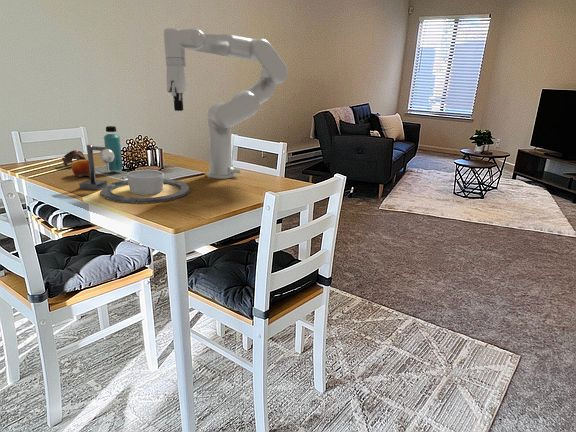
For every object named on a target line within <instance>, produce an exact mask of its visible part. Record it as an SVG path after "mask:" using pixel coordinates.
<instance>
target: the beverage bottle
mask: <svg viewBox="0 0 576 432" xmlns="http://www.w3.org/2000/svg"><path fill="white" fill-rule="evenodd" d="M105 132H107V133H106V134H105V135H104V137H103V139H104V147H107V149H110V150H112V151H113V153H114V155H115V158H114V160H113V161H112V162H109V172H110V171H111V172H117V171H119V172H120V171H122V170H123V157H122V149H121V148H122V147H121V139H120V138H121V137H120V136H119V135H118V134H116V133H115V132H117V128H116V126H115V125H110V126H109V125H107V126H105ZM105 164H106V168H107V163H105Z"/></svg>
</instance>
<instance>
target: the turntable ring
mask: <svg viewBox="0 0 576 432" xmlns="http://www.w3.org/2000/svg"><path fill="white" fill-rule="evenodd" d="M127 184H128V185H129V183H128V179H125V180H120V181H116V182H111V183H109V184H108V183H107V186H105V187H103V188H101V191H100V195H102V196H103V198H105V199H107V200H110V201H113V202H118V203H126V204H127V203H128V204H153V203H161V202H162V203H163V202H167V201H168V202H169V201H173V200H176V199H180V198H182V197H185V196H186V195H188V193H190V186H189V185H188V184H187V183H185V182H183V181H180V180H176V179H170V178H163V184H168V185H172V186H176V187H177V188H179V190H178V191H176V192H174V193H170V194H167V195H161V196H155V197H154V196H153V197H131V196H130V197H129V196H123V195H119V194H115V193H113V192H112V191H113V190H115V189H117V188H119V187H123V186H127Z"/></svg>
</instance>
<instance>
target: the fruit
mask: <svg viewBox="0 0 576 432" xmlns="http://www.w3.org/2000/svg"><path fill="white" fill-rule="evenodd" d="M71 170H72V173H73V174H74V176H76V177H79V178H82V177H86V176H87V177H90V171H89V162H88V160H87V159H86V160H78V161H77V160H76V161H74V162H73V163H71Z"/></svg>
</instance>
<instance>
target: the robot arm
mask: <svg viewBox="0 0 576 432" xmlns="http://www.w3.org/2000/svg"><path fill="white" fill-rule="evenodd" d="M163 41H164V42H163V43H164V44H163V46H164V54H165V55H164V57H165V67H166V91H167V93H171V96H172V97H173V108H174V111H175V112H182V111H184V93H185V92H186V91H187V83H186V82H187V81H186V73H185V67H186V68H187V66H186V49H187V50H189V51H194V52H200V53H205V54H213V55H218V56H222V57H229V58H232V59H233V58H235V59H240V60H245V61H252V62H259V64H260V65H261V67H262V68H261V71H260V76H259V79H258V81H257V82H255V84H253V85H250V86H249V87H247V88H245V89H243V90H241V91H238V92H237V93H234V94H233V96H232V97H231V100H230V101H228V102H226V103H225V102H215V103H212V104H211V105H210V107H209V108H208V111H207V123H208V135H209V136H208V138H209V139H208V140H209V141H208V142H209V143H208V146H209V147H208V148H209V150H208V151H209V157H208V158H209V159H208V160H209V161H208V163H209V171H207V172H206V173H205V176H206V177H208V178H209V179H210V178H211V179H217V180H218V179H219V180H223V179H232V178H234V177H235V176H236V175H235V174H239V175H240V174H241V173H242V172H241V171H242V170H241V169H240V168H238V167H237V168H235V167H234V164H232V127H234V126H236V125H238V124H240V123H242V122H244V121H246V120H248V119H250V118H251V117H253V116H254V115H256V114H257V113H258V111H259V109H260V105H262V104H263V103H265V102H266V101H268V100H270V99H271V98H272V96H273V95H274V93H275V91H276V87H277V85H278V84H279V85H280V84H283V83H285V82H286V80H287V79H288V77H289V68H288V67H287V64H286V63H285V62H284V60H283V59H282V57H281V56H280V55H279V53H278V52H277V51H276V49H275V48H274V46H273V45H272V44H271V43H270V42H269V41H268V40H266V39H265V38H258V39H255V38H251V37H250V38H249V37H245V36H240V35H235V34H234V35H233V34H230V33H229V34H228V33H221V34H220V33H219V34H213V33H204V32H203V31H202V30H200V29H199V28H184V29H183V28H177V27H176V28H175V27H168V28H167V27H166V28H165V29H163Z"/></svg>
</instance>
